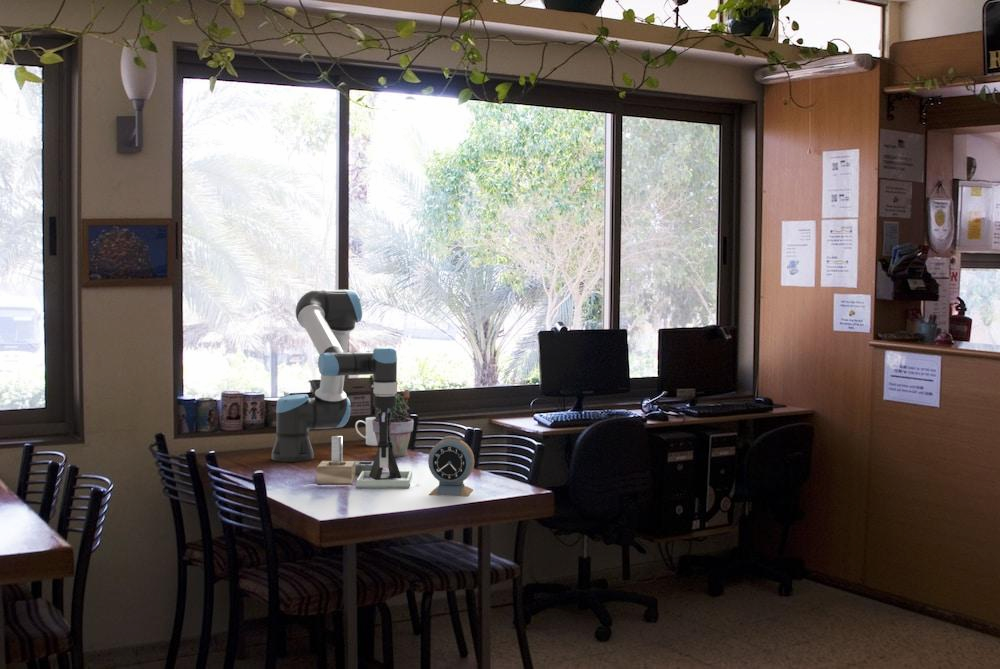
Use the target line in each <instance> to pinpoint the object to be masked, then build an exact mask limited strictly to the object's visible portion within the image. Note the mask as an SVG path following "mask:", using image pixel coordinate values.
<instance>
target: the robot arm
mask: <svg viewBox="0 0 1000 669" xmlns="http://www.w3.org/2000/svg"><path fill="white" fill-rule="evenodd" d="M362 305H363V304H362V301H361V298H360V295H359V293H358V292H357V291H355V290H354V289H313V290H311V291H310V290H309V291H308V292H306V293H304V294H303V295H302V296H300V299H299V300H298V302H297V304H296V306H295V318H296V320H297V322H298V324H299V326H300V327H302V328H303V329H305V331H306V332H307V334H308V336H309V338H310V340H311V342H312V344H313V346H314V347H315V349H316V351H317V353H318V354H319V357H318V359H317V367H318V371H319V374H321V375H320V383H319V388H318V389H316V390H315V391H314V397H309V394H307V393H301V394H299V393H298V394H289V395H286V396H285V395H284V396H282V397H279V398H278V400H277V401H276V409H275V413H276V420H275V421H276V426H275V427H276V438H275V439H276V440H275V442H274V444H273V448H272V451H271V460H272V461H276V462H281V463H282V462H286V463H289V462H290V463H294V462H306V461H312V460H314V454H315V452H314V449H313V447H312V443H311V441H310V437H309V436H310V434H309V433H310V432H309V431H310V430H318V429H319V430H321V429H324V430H325V429H336V428H337V429H338V428H343V427H344V426H345V425H347V423H348V422H349V419H350V416H351V411H352V409H351V401H350V399H349V397H348V396H347V393H346V392H345V391H344V387H345V386H344V384H345V378H346V377H345V376H361V375H362V376H364V375H372V376H373V380H372V381H373V384H371V388H373V394H374V395H373V397H372V398H373V400H372V404H373V405H372V406H373V408H375V407H376V408H375V409H377V408H381V412H379V414H378V418H379V426H380V427H379V445H377V446H376V447H377V449H378V448H380V468H383V469H384V468H385V469H386V468H387V469H388V442H390V443H392V441H390V440H391V438H390V425H391V416H392V415H391V412H390V411H389V408H394V407H396V406H397V397H396V396H395V394H396V393H397V392H398V385H397V384H398V382H397V377H398V374H397V373H398V372H397V369H398V366H397V364H398V357H397V349H396V348H395V347H390V346H389V347H388V346H383V347H382V346H379V347H378V346H377V347H375V348H374V349H373V350H366V351H357V352H355V351H354V352H352V351H349V342H350V334H351V332H353V331H354V329H355V327H356V323H360V322H361V321H362V319H363V306H362ZM348 351H349V352H348Z"/></svg>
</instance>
